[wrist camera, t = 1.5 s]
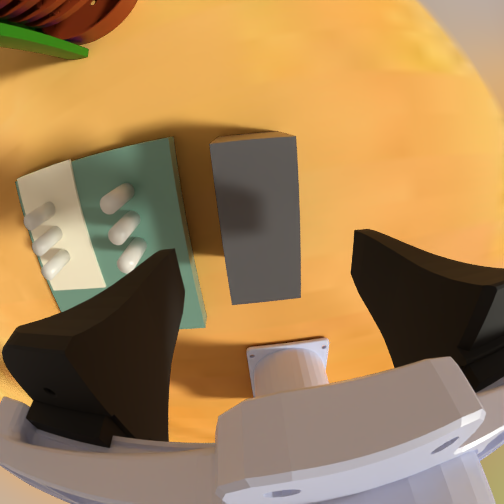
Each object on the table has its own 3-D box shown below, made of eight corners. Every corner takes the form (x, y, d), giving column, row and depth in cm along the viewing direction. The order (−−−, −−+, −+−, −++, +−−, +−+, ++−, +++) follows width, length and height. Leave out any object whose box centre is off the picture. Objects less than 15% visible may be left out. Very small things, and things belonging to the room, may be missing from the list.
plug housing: (285, 251, 22) (300, 297, 16) (233, 257, 22) (232, 304, 16) (278, 131, 18) (295, 136, 12) (218, 136, 18) (209, 144, 12)
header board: (206, 316, 24) (202, 353, 20) (76, 320, 24) (58, 350, 20) (173, 133, 17) (154, 137, 13) (25, 175, 17) (-9, 190, 13)
